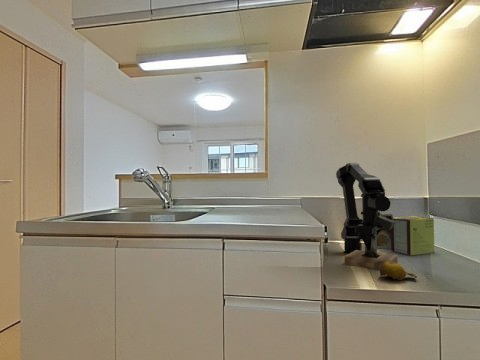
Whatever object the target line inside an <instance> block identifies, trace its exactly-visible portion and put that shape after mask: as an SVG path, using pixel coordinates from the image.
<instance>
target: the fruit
mask: <svg viewBox="0 0 480 360" xmlns="http://www.w3.org/2000/svg"><path fill="white" fill-rule="evenodd" d="M379 275H380V277H381V276H383V277H385V276H388V277H390V278H392V280H398V281H399V280H400V281H402V280H405V279H406V276H407V275H408V276H410V277H412V278H413V277H414V278H413V279H416V278H418V275H417V274H415V273H411V272H409V271H406V270H405V268H404V267H403V266H402V265H401V264H399V263H397V264H395V263H393V262H384V263H383V264H382V265H381V267H380V269H379Z"/></svg>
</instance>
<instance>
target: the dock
mask: <svg viewBox="0 0 480 360" xmlns="http://www.w3.org/2000/svg"><path fill="white" fill-rule="evenodd" d="M343 258H344V259H343V260H344V261H343V262H344V265H347V266H348V265H349V266H355V267H361V268H367V269H374V270H380V267H381V265H382V264H383V263H384V262H393V263H395V264H398V254H392V253H391V254H390V253H384V252H383V253H382V252H377V257H376V258H371V257H365V250H362V251H361V250H355V251H353V252H351V253H350V254H349V253H347V254H346V255H344V256H343Z"/></svg>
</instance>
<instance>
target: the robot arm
mask: <svg viewBox="0 0 480 360" xmlns="http://www.w3.org/2000/svg"><path fill="white" fill-rule="evenodd" d="M335 177H336V178H337V182H338V184H339V186H341V189H342V194H343V200H344V201H343V202H344V209H345V215H346V216H345V218H346V219H345V221H344V222H343V227H342V230H341V232H340V236H341V239H342V240H343V242H344V243H343V246H344V251H343V252H342V253H344V254H350V253H351V252H353V251H355V250H361V251H363V249H362V245H363V244H364V247H365V246H366V248H367V250H371V244H372V237H373V236H374V235H375V234H376V233H374V231H377V235H378V233H380V232H381V231H382V230H378V228H381V229H384V228H386V229H388V230H391V229H392V228H393V225H394V224H395V221H394V220H393V218H394V216H393V217H392V216H390V215H389V216H387V217H383V216H380V214H381V212H386V211H388V210H389V209H390V207H391V200H390V199H389V198H388V196H386V190H385V188H384V186H383V184H382V181H381V179H380V178H379V177H378V176H375V175H373V174H369V173H367V172H366V171H365V170H364V169H363V168H362V167H361V166H360V163H357V162H348V163H346V164H345V165H343V166H341V167H339V168H338V169H337V171H336V173H335ZM356 181H357V182H358V185H357V186H358V188H359V190H360V192H361V194H360V197H361V199H362V200H361V202H362V203H361V206H362V208H361V209H362V211H360V215H362V218H360V217H359V216H358V211H357V209H358V208H357V205H356V204H357V203H356V197H355V190H354V184H355V183H356ZM361 241H363V243H362V242H361Z"/></svg>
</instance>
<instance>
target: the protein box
mask: <svg viewBox="0 0 480 360" xmlns="http://www.w3.org/2000/svg"><path fill="white" fill-rule="evenodd" d="M393 220H394V221H395V224H394V225H393V228H392V229H391V249H390V251H391V252H394V253H398V254H403V255H405V256H407V255H408V256H417V255H424V254H431V253H435V221H434V220H435V219H434V218H433V217H427V216H426V217H425V216H416V215H409V216H399V217H397V216H395V217H393Z"/></svg>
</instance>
